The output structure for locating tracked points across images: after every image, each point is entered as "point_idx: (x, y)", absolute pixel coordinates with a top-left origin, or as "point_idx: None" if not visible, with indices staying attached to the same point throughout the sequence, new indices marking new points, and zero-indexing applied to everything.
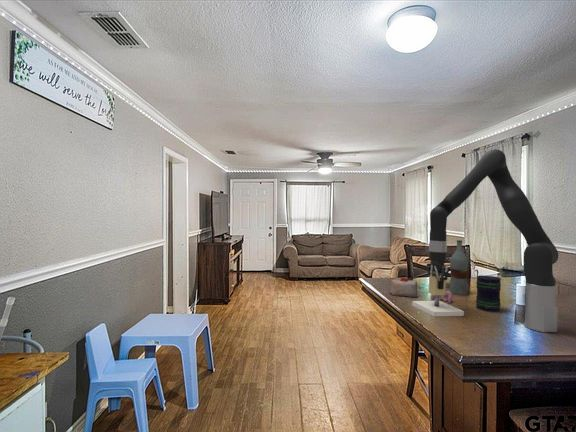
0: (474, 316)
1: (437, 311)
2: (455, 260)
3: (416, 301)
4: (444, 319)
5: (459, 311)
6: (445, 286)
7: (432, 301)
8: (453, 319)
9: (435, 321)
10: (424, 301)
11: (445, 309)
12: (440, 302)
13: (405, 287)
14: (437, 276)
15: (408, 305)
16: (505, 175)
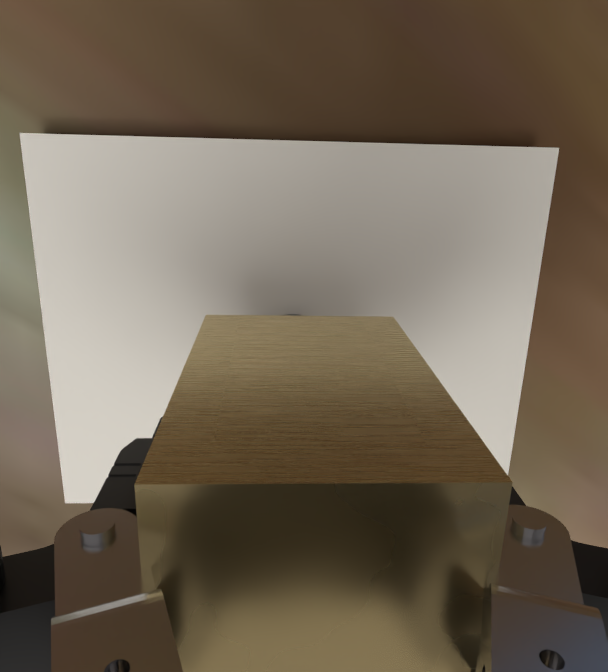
0: (582, 23)
1: (498, 459)
2: None
3: (76, 463)
4: (580, 428)
5: (547, 208)
6: (430, 370)
7: (70, 263)
8: (604, 346)
9: (605, 530)
10: (73, 369)
11: (446, 328)
12: (125, 181)
13: None
14: (314, 624)
15: (83, 511)
16: None
